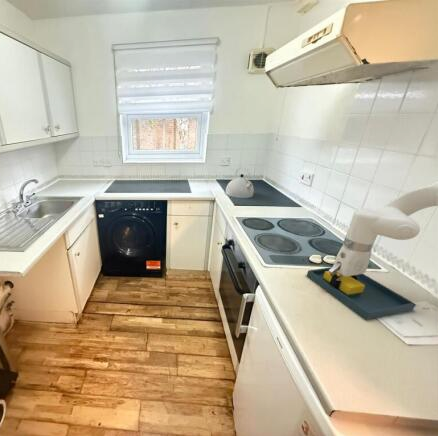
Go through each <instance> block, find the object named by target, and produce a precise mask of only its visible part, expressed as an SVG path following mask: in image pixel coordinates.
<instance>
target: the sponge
mask: <svg viewBox="0 0 438 436" xmlns="http://www.w3.org/2000/svg"><path fill="white" fill-rule="evenodd" d="M339 271H340V270H339ZM336 275H337V276H338V277H339V275H340V274H339V273H337V274H336ZM331 278H332V277H331V275H330V273H329V271H325V274H324V276H323V280H324V281H326V282H327V283H329V284H330V281H331ZM340 281H341V284H340V286H339V289H338V290H339V291H340V292H342V293H343V294H344V295H346V296H347V297H349V296H355V295H360V294H362V292H363V289H364V287H365V285H364V284H362V283H361V282H359V281H357V280H356V279H354V278H352V277H351V276H343V277H342V279H341V280H340Z"/></svg>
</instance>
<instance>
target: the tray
mask: <svg viewBox="0 0 438 436" xmlns="http://www.w3.org/2000/svg"><path fill="white" fill-rule="evenodd" d="M332 267H333V266H331V267H323V268H316V269H310V270H308V271H307V273H306V277H307V278H308V279H310V280H311V281H312V282H314V283H315V284H317V286H318V287H320V288H322V289H323V290H324V291H326V292H327V293H329V294H330V295H331V296H333V297H334V298H335V299H337V300H338V301H339V302H341V303H342V304H344V306H346V307H347V308H348V309H350V310H352V312H354V313H355V314H357V315H358V316H360V317H361V318H362V319H364V320H365V321H368V320H373V319H378V318H382V317H388V316H389V317H390V316H393V315H398V314H403V313H404V314H405V313H408V312H413V311H414V309H415V307H416V306H417V303H415V302H413V301H411V300H410V299H408V298H406V297H405V296H403V295H402V294H400V293H397V292H395V291H394V290H392V289H391V288H389V287H387V286H385V285H383V284H382V283H381V282H378V281H377V280H375V279H373V278H372V277H370V276H368V275H366V274H365V273H363V274H360V277H359V278H358V279H357V281H359V282H361V283H362V284H364V285H365V287H364V289H363V292H362V294H360V295H355V296H349V297H347V296H346V295H344V294H343V293H342V292H340V291H339V290H337V289H336V288H334V287H333V286H332V285H330V284H329V283H327V282H326V281H324V280H323V276H324V274H325V271H329V270H330V269H331V268H332Z"/></svg>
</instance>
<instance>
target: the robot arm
mask: <svg viewBox="0 0 438 436" xmlns="http://www.w3.org/2000/svg"><path fill="white" fill-rule="evenodd" d="M431 207H438V180H437V181H435V182H433V183H430V184H428V185H424V186H422V187H421V186H420V187H418V188H416V189H413V190H410V191H407V192H405V193H402V194H400V195H398V196H396V197H394V198H393V199H392V200H390V201H388V202H387V203H385V204H384V205H383V206H380V208H378V209H377V210H374V209H370V208H358V209H356V210H355V211H354V213H353V215H352V217H351V220H350V224H349V227H348V229H347V231H346V235H345V236H344V240H343V243H342V246H341V247H340V249H339V251H338V253H337V255H336V256H335V260H334V262H333V264H332V265H333V266H331V267H332V268H331V269H330V270H329V273H330V275H331V277H332V278H331V281H330V285H332V286H333V287H334V288H336V289H337V290H338V289H339V286H340V284H341V281H340V280H341V279H342V277H343V276H351V277H352V278H354V279H356V280H357V279H358V278H359V277H360V274H365V273H366V271H367V269H368V267H369V265H370V262H371V258H372V253H373V251H372V250H373V247H374V244H375V242H376V239H377V238H378V236H381V237H385V238H389V239H393V240H399V241H408V240H411V239H414V238H416V237H417V236H418V235H419V234H420V231H421V227H420V225H419V223H418V222H417V221H416V220H415V219H413V217H411V216H412V215H413V214H415V213H417V212H419V211H421V210H425V209H427V208H431ZM339 270H340V271H339ZM337 273H339V274H340V275H339V277H338V276H337V275H336V274H337Z"/></svg>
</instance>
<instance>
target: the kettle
mask: <svg viewBox="0 0 438 436" xmlns="http://www.w3.org/2000/svg"><path fill="white" fill-rule="evenodd" d="M240 169H243V170H245V171H246V172H247V174H248V178H246V177H244V174H243V173H241V174H240V175H239V176H240V177H237V173H238V170H240ZM234 177H235V178H233V179H232V180H230V181H229V182H228V184H227V186H226V187H225V192H224V193H225V195H227V196H229V197H232V198H237V199H249V198H253V197H254V195H255V194H254V193H255V188H254V185H253V183H252V182H251V181H250V177H251V175H250V171H249V169H247V168H245V167H243V166H241V167H238V168H237V169H236V170H235V174H234Z"/></svg>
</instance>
